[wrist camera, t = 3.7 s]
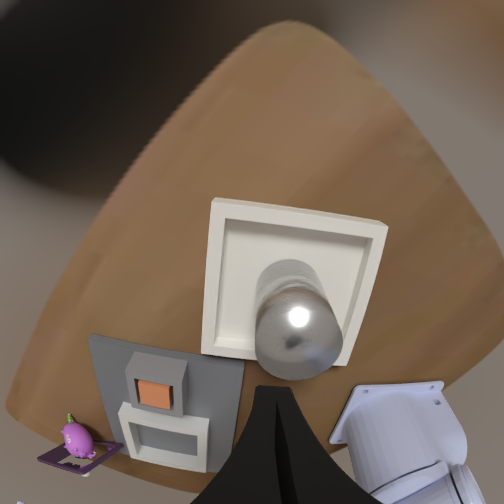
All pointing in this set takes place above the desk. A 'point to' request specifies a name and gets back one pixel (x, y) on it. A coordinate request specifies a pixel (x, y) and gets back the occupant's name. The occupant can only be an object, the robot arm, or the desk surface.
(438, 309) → the desk surface
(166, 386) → the button
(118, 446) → the eggplant monster toy
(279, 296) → the cylinder
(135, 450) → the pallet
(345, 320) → the tray
